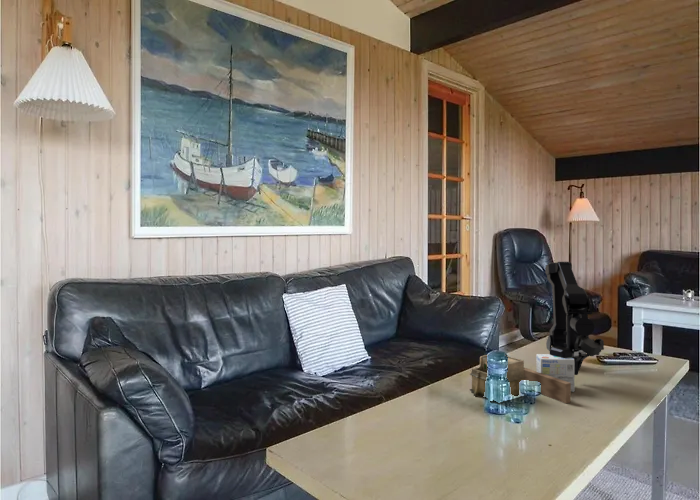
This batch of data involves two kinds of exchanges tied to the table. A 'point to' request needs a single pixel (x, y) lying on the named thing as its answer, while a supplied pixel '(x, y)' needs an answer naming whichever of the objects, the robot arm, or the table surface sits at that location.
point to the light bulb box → (557, 367)
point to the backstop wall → (550, 385)
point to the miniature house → (513, 375)
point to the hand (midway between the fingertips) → (575, 374)
